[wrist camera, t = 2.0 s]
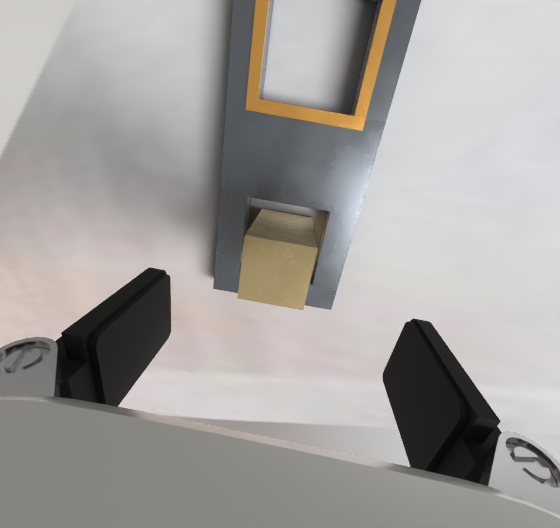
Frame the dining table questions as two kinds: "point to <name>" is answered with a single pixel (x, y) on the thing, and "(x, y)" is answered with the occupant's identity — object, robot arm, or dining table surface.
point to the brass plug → (278, 259)
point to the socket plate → (302, 143)
